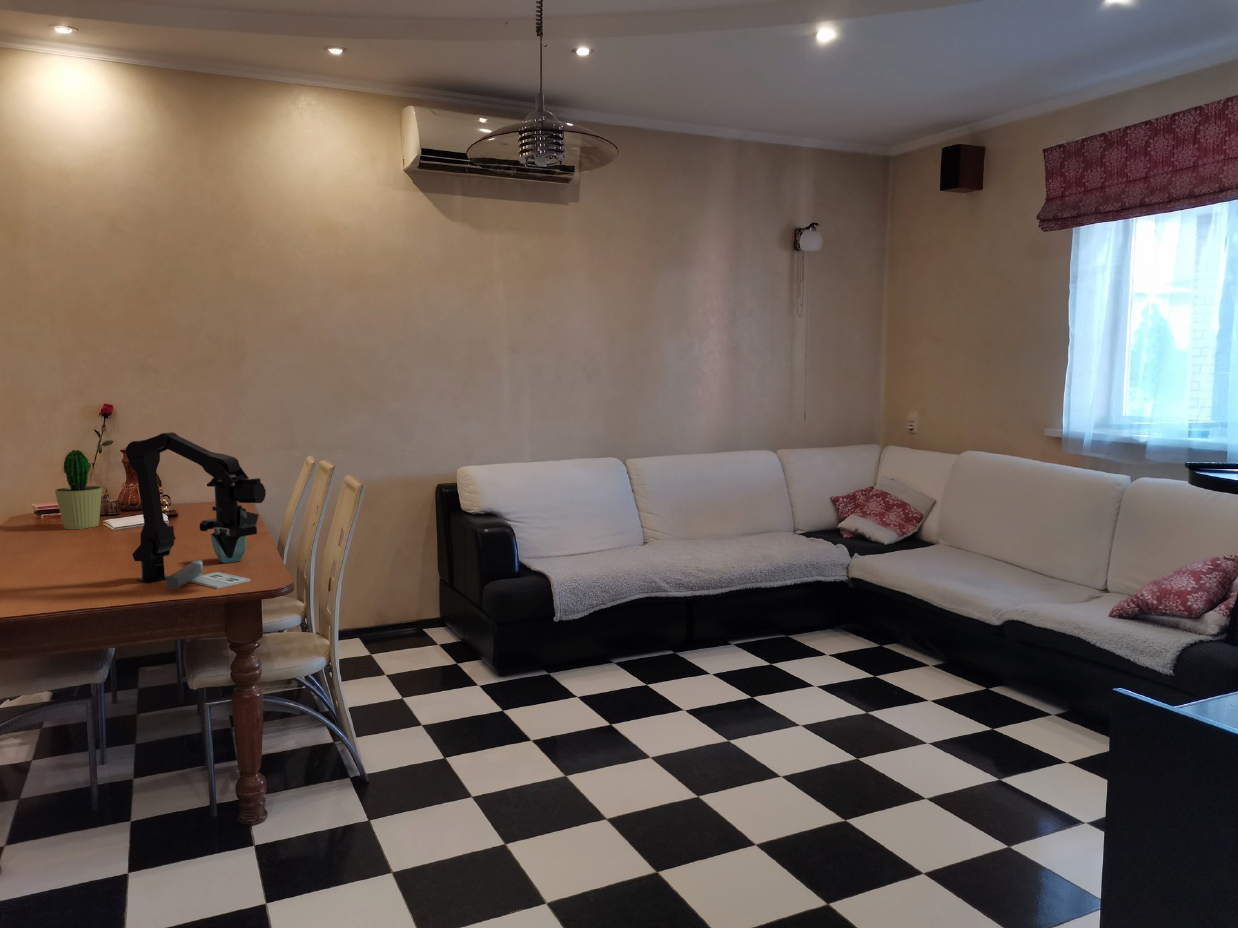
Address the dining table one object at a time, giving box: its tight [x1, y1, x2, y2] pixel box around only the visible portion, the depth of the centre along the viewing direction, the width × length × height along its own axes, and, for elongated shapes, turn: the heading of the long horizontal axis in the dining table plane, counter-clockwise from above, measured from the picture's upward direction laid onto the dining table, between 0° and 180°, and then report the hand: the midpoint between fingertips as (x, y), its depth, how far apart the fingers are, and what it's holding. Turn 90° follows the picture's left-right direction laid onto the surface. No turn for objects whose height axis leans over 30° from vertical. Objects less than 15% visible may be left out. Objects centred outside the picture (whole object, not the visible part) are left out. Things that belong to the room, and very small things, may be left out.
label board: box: [188, 571, 251, 590], centre depth 250 cm, size 19×10×1 cm, turn 56°
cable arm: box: [165, 559, 204, 589], centre depth 246 cm, size 20×3×3 cm, turn 6°
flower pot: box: [210, 531, 247, 564], centre depth 274 cm, size 9×9×9 cm
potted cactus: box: [54, 449, 103, 530], centre depth 334 cm, size 15×15×30 cm
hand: (229, 557), depth 246 cm, fingers closed
